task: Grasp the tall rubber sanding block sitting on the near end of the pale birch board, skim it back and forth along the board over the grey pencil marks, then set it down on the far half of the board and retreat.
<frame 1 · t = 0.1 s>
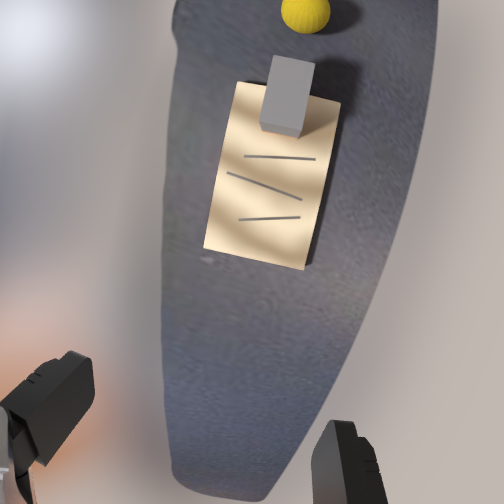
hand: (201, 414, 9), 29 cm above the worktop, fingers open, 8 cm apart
lemon: (303, 26, 30), on the worktop
board: (271, 174, 35), on the worktop
sanding block: (286, 106, 32), point 1 cm above the worktop, touching board
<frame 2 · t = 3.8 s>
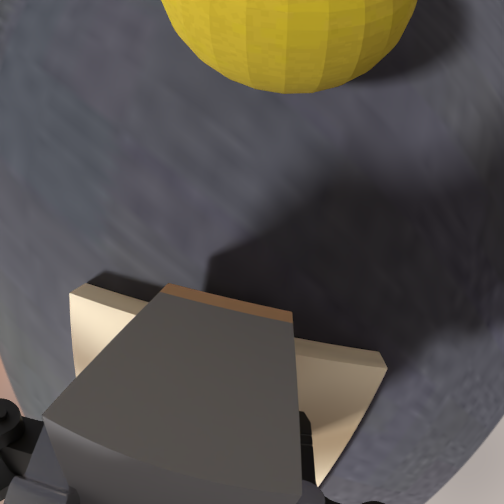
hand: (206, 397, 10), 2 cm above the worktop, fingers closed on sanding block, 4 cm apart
lemon: (285, 48, 9), on the worktop
board: (198, 472, 14), on the worktop
sanding block: (212, 383, 10), point 1 cm above the worktop, touching board, gripper
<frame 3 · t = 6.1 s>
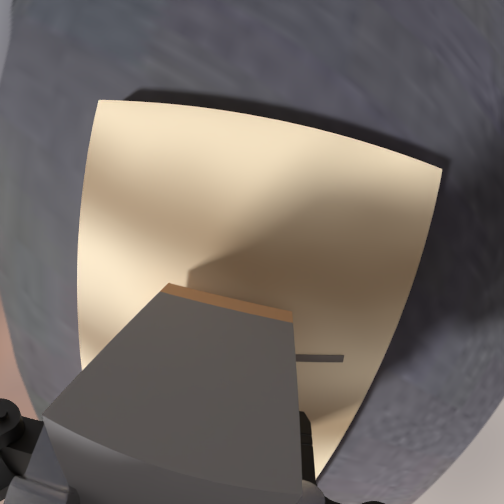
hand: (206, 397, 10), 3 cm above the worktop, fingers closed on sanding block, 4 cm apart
board: (217, 373, 12), on the worktop
sanding block: (212, 383, 10), point 2 cm above the worktop, touching gripper
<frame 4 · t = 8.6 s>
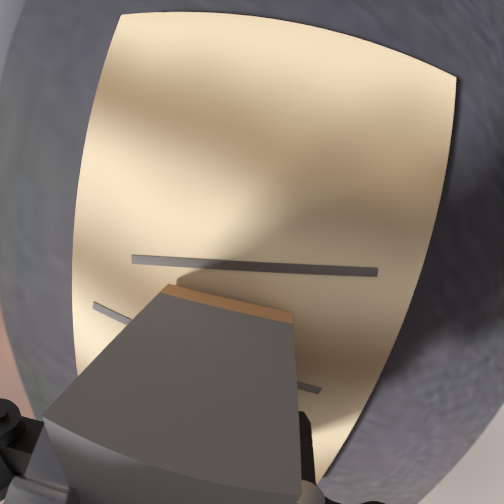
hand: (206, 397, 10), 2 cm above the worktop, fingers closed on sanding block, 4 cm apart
board: (229, 305, 11), on the worktop
sanding block: (212, 384, 10), point 1 cm above the worktop, touching gripper
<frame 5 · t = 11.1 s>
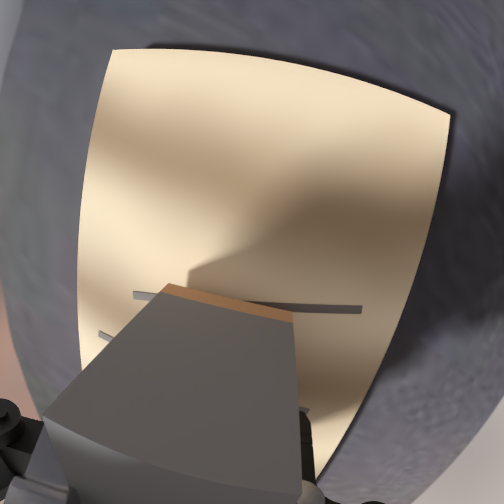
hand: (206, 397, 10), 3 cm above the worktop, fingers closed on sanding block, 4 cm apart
board: (224, 334, 12), on the worktop
sanding block: (212, 383, 10), point 2 cm above the worktop, touching gripper
when the fingers open (2 cm above the worktop, at t = 13.4 s): sanding block stays where it is, resting on board.
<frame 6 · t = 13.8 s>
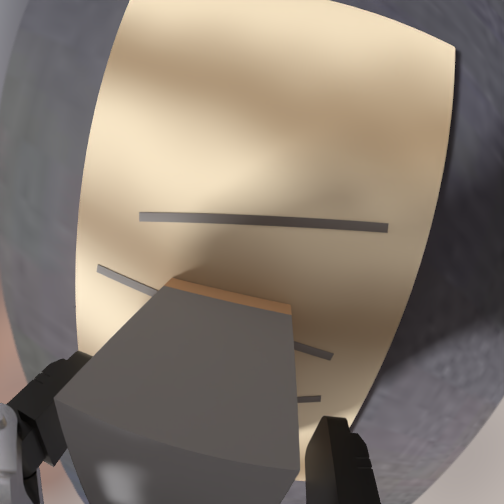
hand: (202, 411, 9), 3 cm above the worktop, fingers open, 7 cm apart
board: (237, 267, 11), on the worktop
sanding block: (214, 375, 11), point 1 cm above the worktop, touching board
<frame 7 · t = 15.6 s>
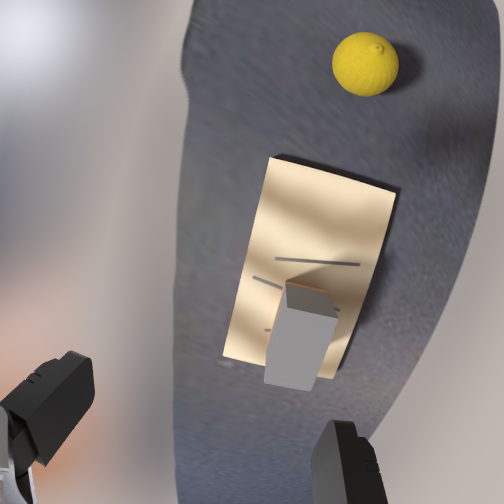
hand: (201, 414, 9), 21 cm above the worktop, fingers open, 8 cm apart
lemon: (353, 79, 25), on the worktop
board: (306, 277, 30), on the worktop
sanding block: (295, 319, 29), point 1 cm above the worktop, touching board
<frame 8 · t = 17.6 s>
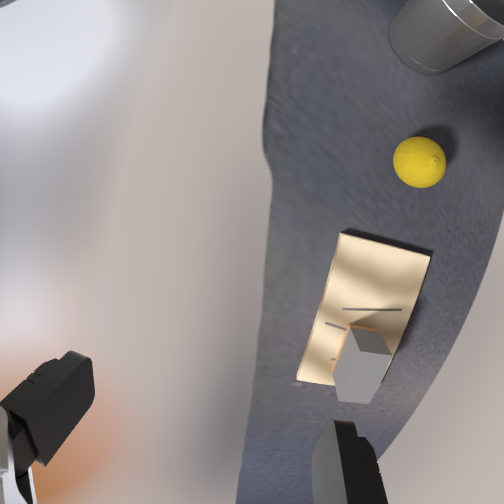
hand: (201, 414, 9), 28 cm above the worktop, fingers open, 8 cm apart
lemon: (404, 163, 33), on the worktop
board: (362, 319, 37), on the worktop
sanding block: (354, 350, 37), point 1 cm above the worktop, touching board
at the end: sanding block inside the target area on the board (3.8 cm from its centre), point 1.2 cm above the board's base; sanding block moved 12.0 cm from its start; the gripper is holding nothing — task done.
